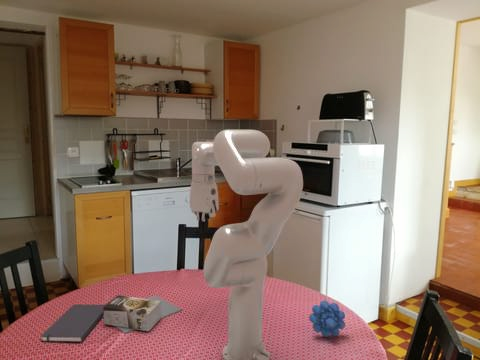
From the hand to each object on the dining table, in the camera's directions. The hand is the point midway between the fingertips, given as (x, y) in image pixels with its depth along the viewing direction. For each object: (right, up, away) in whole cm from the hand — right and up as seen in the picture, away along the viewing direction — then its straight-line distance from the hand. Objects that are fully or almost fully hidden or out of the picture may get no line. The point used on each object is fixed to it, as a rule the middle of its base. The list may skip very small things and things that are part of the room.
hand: (203, 231), depth 136 cm
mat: (-21, -28, +1) cm, 35 cm away
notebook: (-40, -29, -7) cm, 50 cm away
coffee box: (-15, -26, -8) cm, 31 cm away
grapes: (+40, -32, -13) cm, 52 cm away
